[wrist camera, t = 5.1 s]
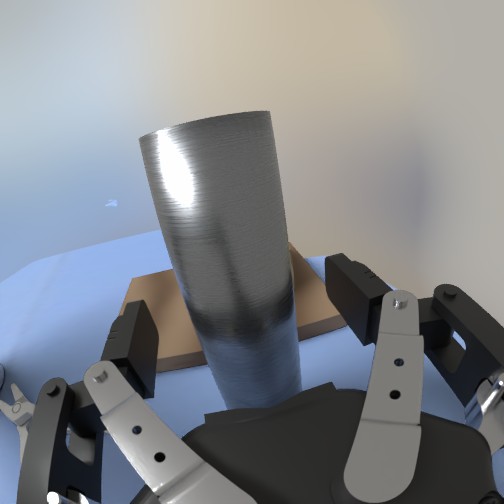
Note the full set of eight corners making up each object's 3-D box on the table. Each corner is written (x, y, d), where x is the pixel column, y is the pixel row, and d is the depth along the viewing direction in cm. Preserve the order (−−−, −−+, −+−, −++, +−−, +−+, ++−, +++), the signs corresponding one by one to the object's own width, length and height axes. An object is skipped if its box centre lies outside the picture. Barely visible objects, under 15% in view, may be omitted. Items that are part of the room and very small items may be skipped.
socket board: (111, 378, 19) (79, 328, 17) (136, 288, 32) (121, 249, 30) (346, 326, 21) (348, 267, 19) (290, 252, 35) (285, 211, 32)
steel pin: (244, 457, 12) (123, 139, 6) (233, 406, 16) (150, 138, 9) (312, 439, 13) (287, 106, 6) (292, 391, 16) (254, 117, 10)
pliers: (53, 525, 5) (-21, 419, 11) (70, 531, 6) (-11, 429, 11) (124, 426, 14) (31, 362, 19) (135, 437, 14) (39, 373, 20)
